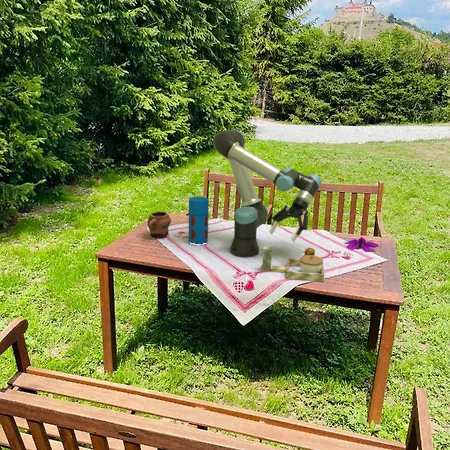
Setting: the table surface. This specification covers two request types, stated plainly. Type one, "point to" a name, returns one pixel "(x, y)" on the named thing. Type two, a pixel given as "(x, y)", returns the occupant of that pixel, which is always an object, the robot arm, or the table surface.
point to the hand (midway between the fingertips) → (281, 236)
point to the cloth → (361, 245)
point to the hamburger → (309, 252)
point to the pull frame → (289, 274)
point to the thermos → (198, 220)
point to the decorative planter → (159, 224)
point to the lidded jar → (311, 264)
